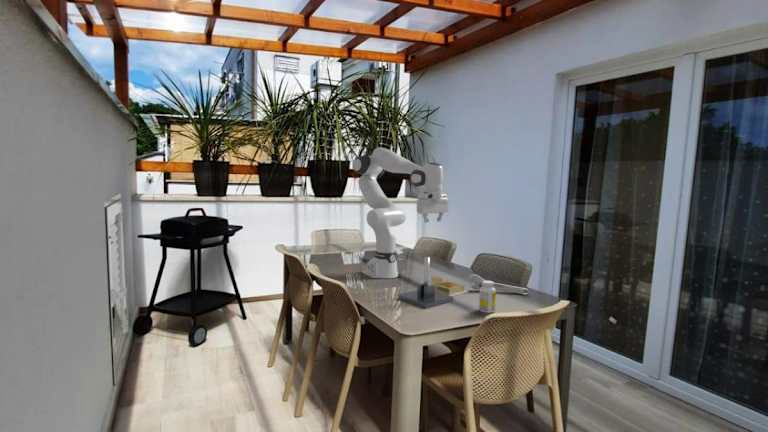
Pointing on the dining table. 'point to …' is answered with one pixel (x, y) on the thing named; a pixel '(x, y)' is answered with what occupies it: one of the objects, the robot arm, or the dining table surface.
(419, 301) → the rod stand
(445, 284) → the collar
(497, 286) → the wrench
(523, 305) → the dining table surface
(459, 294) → the pad
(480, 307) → the supplement bottle
